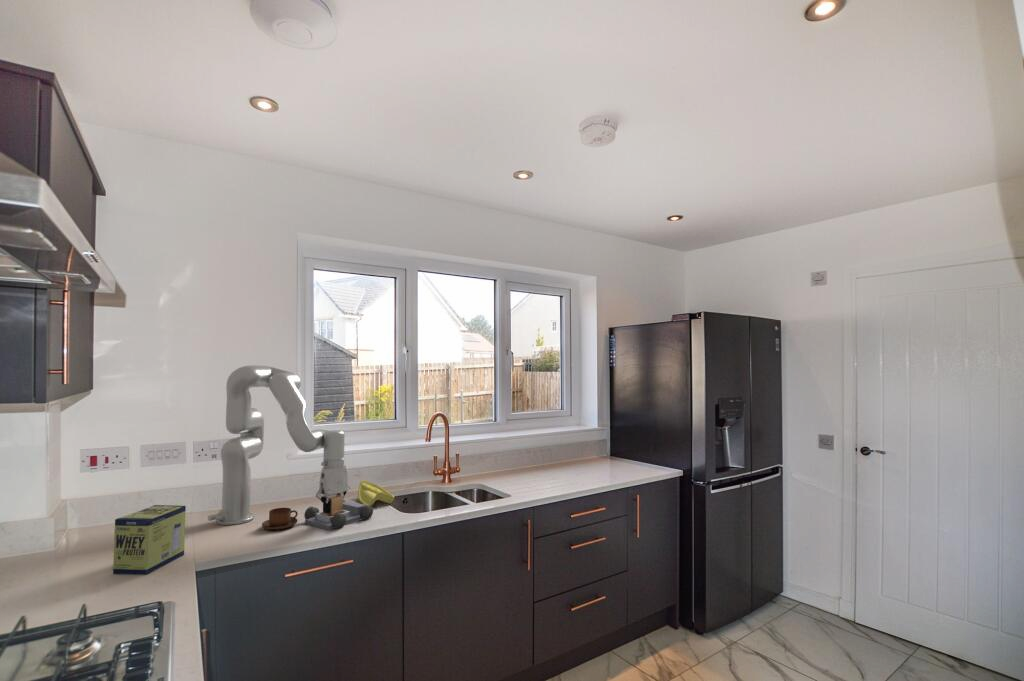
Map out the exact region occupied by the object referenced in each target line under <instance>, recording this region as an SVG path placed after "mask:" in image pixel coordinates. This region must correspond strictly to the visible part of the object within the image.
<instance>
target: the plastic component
mask: <svg viewBox="0 0 1024 681" xmlns="http://www.w3.org/2000/svg"><path fill="white" fill-rule="evenodd" d="M357 498H358V500H359V503H360V504H364V505H370V506H372V507H373V505H374V503H375V502H376V501H381V502H384V503H386V504H393V501H394V499H395V496H394V495H393V494H392V493H390V492H389V491H387V490H386V489H384V488H383V487H381V486H379V485H377V484H375V483H372V482H371V481H368V480H365V479H362V480H361V481H360V483H359V485H358V490H357Z"/></svg>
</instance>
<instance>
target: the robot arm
mask: <svg viewBox="0 0 1024 681" xmlns="http://www.w3.org/2000/svg"><path fill="white" fill-rule="evenodd" d="M301 382H302V381H301V379H300V377H299V376H298V375H297V374H296V373H295V372H293V371H292V372H291V371H287V370H283V369H279V368H276V367H273V366H269V365H245V366H241V367H238V368H237V369H235V370H233V371H232V372H231V373H230V374H229V376H228V377H227V380H226V386H225V387H226V388H225V390H226V403H225V404H226V408H225V411H226V412H225V427H226V430H227V431H228V433H229V434H233V435H239V436H238V437H232V438H230V439H228V440H227V441H226V442H225V443H224V444H223V445H222V447H221V450H220V460H221V465H222V492H221V493H222V494H221V496H222V497H221V498H222V499H221V509H219V510H218V512H217V513H216V514H210V515H208V516H207V520H208V521H209V522H211V521H214V520H215V521H216V524H218V525H224V526H230V525H231V526H232V525H240V524H244V523H247V522H250V521H252V520H254V518H255V514H254V513H252V512H250V511H251V482H252V481H251V480H252V479H251V478H252V477H251V476H252V472H251V466H250V463H249V460H250V459H254V458H256V457H257V456H259V455H260V454H261V453H262V450H263V448H264V441H265V440H264V438H265V436H264V434H265V419H264V416H263V413H262V412H261V410H259V409H257V408H255V407H252V395H251V392H250V389H251V388H260V387H261V388H263V387H264V388H268V389H269V390H270V392H271V394H272V395H273V397H274V399H275V400H276V401H277V403H278V406H280V408H281V410H282V411H283V413H284V416H285V423H286V429H287V431H288V434H289V436H290V438H291V439H292V441H293V442H294V443H293V444H295V446H296V447H297V448H298V449H299V450H300V451H302V452H303V453H311V452H315V451H317V450H320V449H323V460H322V462H321V463H320V465H321V466H322V468H321V470H320V476H319V484H318V485H319V488H318V491H317V492H316V494H315V498H318V499H319V500H320V501H321V503H322V511H323V513H326V514H329V513H330V503H328V502H329V499H330V495H334V494H337V495H342V496H343V500H344V499H345V496H346V494H347V492H348V491H349V490H350V489H351V488H350V486H349V485H348V484H349V482H348V481H349V478H348V470H347V467H346V465H345V437H346V436H345V432H344V431H343V430H336V429H335V430H327V429H321V428H320V429H319V428H318V429H312V430H311V429H310V427H309V425H308V424H307V422H306V419H305V410H306V408H307V401H306V400H305V399H304V397H303V396H302V394H301V392H300V391H299V389H300V387H301V385H302V383H301Z"/></svg>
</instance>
